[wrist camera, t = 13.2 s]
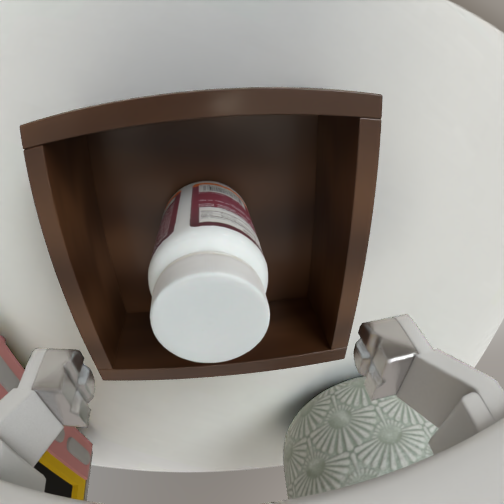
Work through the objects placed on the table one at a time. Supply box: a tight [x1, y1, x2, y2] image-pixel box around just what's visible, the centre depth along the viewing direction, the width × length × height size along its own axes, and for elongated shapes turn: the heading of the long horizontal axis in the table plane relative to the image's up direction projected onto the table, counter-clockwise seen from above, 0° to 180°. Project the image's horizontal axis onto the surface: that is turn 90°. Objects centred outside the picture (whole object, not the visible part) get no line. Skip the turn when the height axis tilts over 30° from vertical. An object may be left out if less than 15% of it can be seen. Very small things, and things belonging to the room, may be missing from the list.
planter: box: [283, 376, 438, 499], centre depth 24 cm, size 17×17×15 cm
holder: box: [20, 87, 382, 380], centre depth 16 cm, size 14×14×6 cm
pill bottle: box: [148, 181, 270, 363], centre depth 14 cm, size 5×5×8 cm
